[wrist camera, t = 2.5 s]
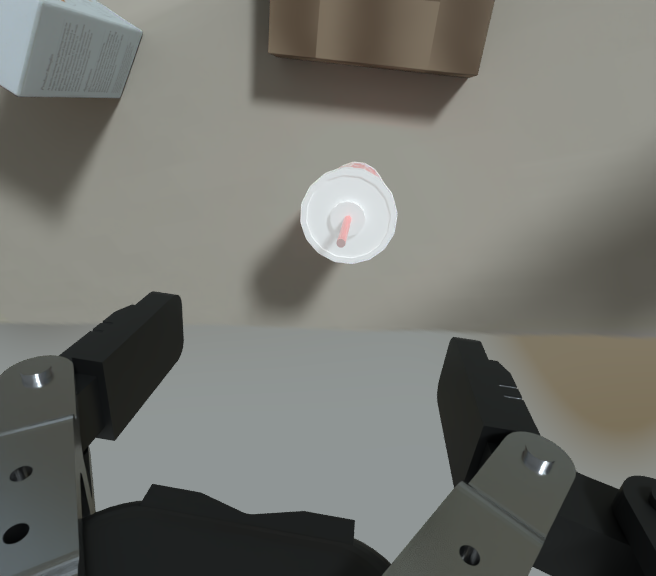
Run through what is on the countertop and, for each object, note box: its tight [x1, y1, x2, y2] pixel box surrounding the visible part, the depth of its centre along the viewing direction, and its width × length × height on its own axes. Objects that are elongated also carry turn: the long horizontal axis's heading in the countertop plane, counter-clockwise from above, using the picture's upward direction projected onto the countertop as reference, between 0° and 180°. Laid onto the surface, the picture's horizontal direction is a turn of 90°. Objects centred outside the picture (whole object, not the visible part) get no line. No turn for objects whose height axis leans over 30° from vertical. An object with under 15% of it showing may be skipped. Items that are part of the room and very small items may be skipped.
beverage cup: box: [300, 162, 398, 264], centre depth 27 cm, size 6×6×14 cm
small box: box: [0, 0, 142, 98], centre depth 26 cm, size 8×6×10 cm
